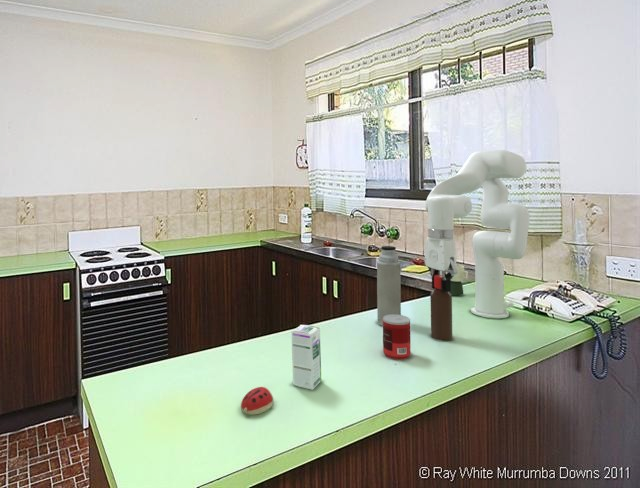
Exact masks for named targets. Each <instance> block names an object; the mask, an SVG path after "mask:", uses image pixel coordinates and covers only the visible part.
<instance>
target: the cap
mask: <svg viewBox="0 0 640 488" xmlns="http://www.w3.org/2000/svg"><path fill="white" fill-rule="evenodd" d="M441 280H443V278H442V274H440V275H434V287H435V288H437V289H441Z"/></svg>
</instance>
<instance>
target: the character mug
mask: <svg viewBox="0 0 640 488" xmlns="http://www.w3.org/2000/svg"><path fill="white" fill-rule="evenodd" d="M456 269H457V271H458V273H457V274H456V275H454V276H453V277H452V280H451V291H450V292H449V293H450V294H451V296H461V295H464V287H463V283H462V282H463V281H464V280H468V279H469V272H468V271H467V270H465V266H464V265H463V264H459V263H458V264H457V263H456ZM447 273H448V272H446V274H447Z"/></svg>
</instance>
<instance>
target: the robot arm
mask: <svg viewBox="0 0 640 488" xmlns="http://www.w3.org/2000/svg"><path fill="white" fill-rule="evenodd" d="M526 171H527V162H526V160H525V158H524V157H523V156H522V155H520V154H517V153H515V152H512V151H509V150H505V149H497V150H478V151H475V152H473V153H471V154H470V155H469V156H468V158H467V160H466V161H465V162H464V164H462V167H461V168H460V170H458V173H456V174H453V175H452V176H450V177H447V179H444V180H442V181H441V182H438V183H437V184H436V185H435V186H434V187H433V188H432V189H431V191H430V192H429V194H428V195H427V198H426V200H425V206H424V207H425V211H426V212H427V230H428V231H427V234H428V235H427V237H426V239H425V240H426V241H425V246H424V265H425V266H426V268H427V269H428V271H429V272H430V276H431V289H433V290H435V289H436V288H435V287H434V275H442V278H443V280H441V291H442V292H450V291H451V280H452V277H453V276H454V275H456V274H457V273H458V271H457V269H456V264H457V262H458V261H457V249H456V242H455V239H454V218H461V219H462V218H465V217H468V216H469V215H470V213H471V212H472V209H473V203H472V201H471V199H470V198H469V197H468V196H465V194H466V195H467V194H469V193H472V192H475V191H477V190H479V189H480V188H481V187H482V201H481V208H480V215H479V216H480V217H479V218H480V223H481V225H482V226H484V227H486V228H491V229H502V230H510V231H509V232H507V231H498V230H479V231H477V232H475V233H474V234H473V236H472V239H471V242H472V243H471V245H472V249H473V254H474V272H475V273H474V276H475V277H474V278H475V279H474V280H475V282H474V284H475V286H474V287H475V288H474V290H475V291H474V294H475V295H474V297H475V298H474V299H475V300H474V301H475V303H474V304H475V305H474V306H472V307H471V308H470V312H471V313H472V314H473V315H475V316H478V317H482V318H488V319H506V318H508V317H510V313H509V311H508V310H507V309H510V308H514V303H513V301H509V302H508V301H507V302H506V301H505V268H504V266H503V263H502V262H501V261H500V259H499V258H501V259H510V260H520V259H522V258H524V256H525V254H526V251H527V247H528V246H527V245H528V237H529V235H528V234H529V228H530V214H529V210H528V208H527V207H526V205H523V204H520V203H509V189H508V187H507V186H506V185H505V184H504V182H503V181H502V179H520V178H522V177H524V175H525V173H526ZM446 272H448V273H447V274H446Z"/></svg>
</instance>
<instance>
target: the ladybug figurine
mask: <svg viewBox="0 0 640 488" xmlns="http://www.w3.org/2000/svg"><path fill="white" fill-rule="evenodd" d="M273 404H274V396H273V394H272V391H270V389H269V388H267V387H265V386H257V387H255V388H252V389H251V390H249V391H248V392H247V393H246V394H245V395H244V396H243V397H242V400H241V403H240V410H241V411H242V413H244V414H246V415H251V416H253V415H259V414H262V413H264V412H266V411H268V410H269V409H270V408H271V407H272V406H273Z"/></svg>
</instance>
